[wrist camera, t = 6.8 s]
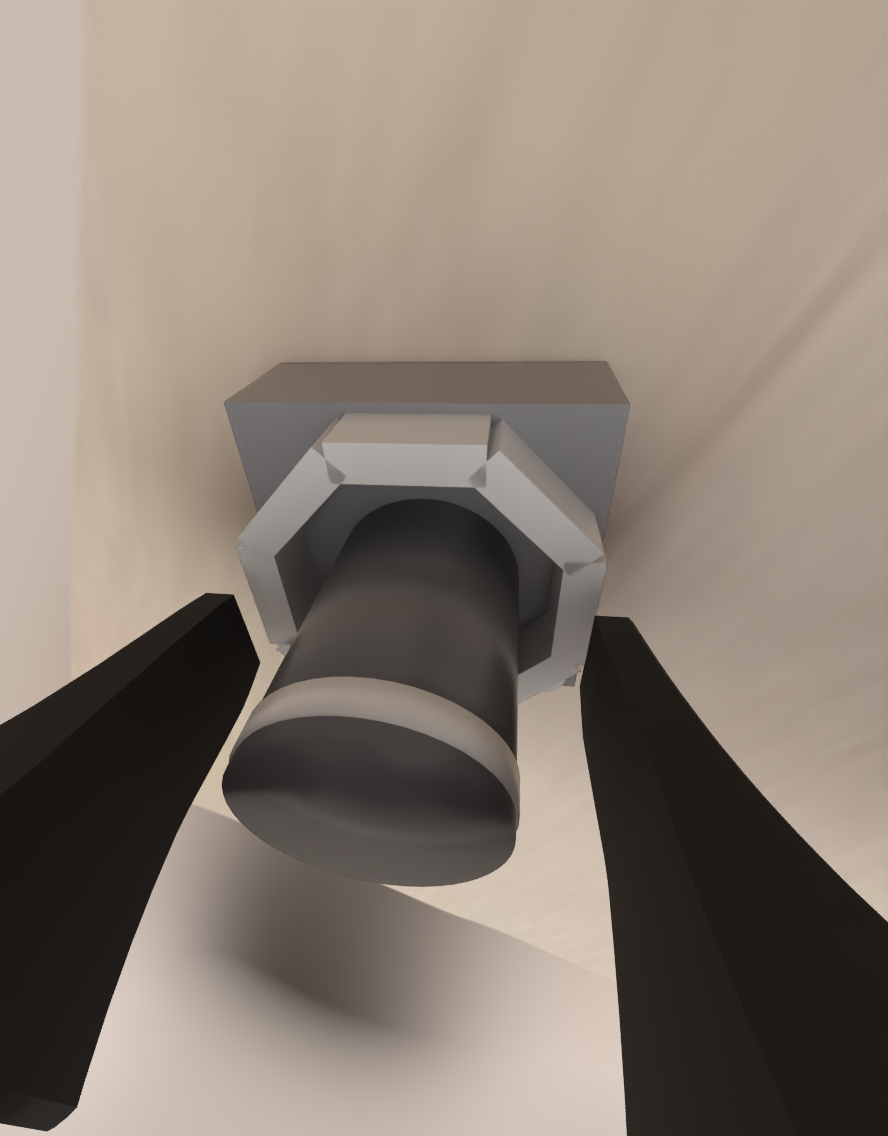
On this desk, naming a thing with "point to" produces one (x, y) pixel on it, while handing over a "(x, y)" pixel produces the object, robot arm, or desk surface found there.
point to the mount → (436, 480)
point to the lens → (394, 708)
